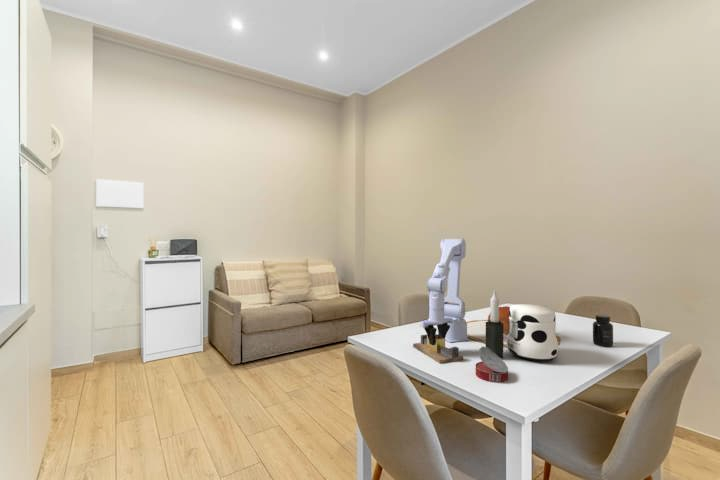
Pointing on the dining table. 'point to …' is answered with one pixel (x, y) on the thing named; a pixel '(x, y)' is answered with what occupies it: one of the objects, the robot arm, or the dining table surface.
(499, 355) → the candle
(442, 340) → the block
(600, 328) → the supplement bottle
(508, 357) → the dining table surface
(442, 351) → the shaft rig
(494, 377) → the canned food
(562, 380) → the dining table surface
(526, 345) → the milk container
